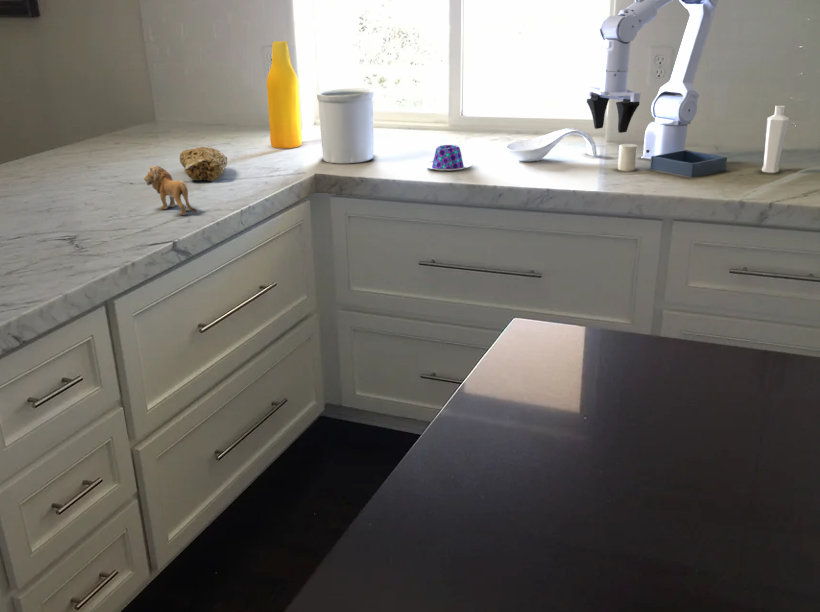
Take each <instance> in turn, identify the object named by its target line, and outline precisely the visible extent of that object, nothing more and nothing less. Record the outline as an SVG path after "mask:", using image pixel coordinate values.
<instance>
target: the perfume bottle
mask: <svg viewBox="0 0 820 612" xmlns="http://www.w3.org/2000/svg"><path fill="white" fill-rule="evenodd" d="M774 106H775V107H774V113H773V115H770V116H768V117H767V119H766V129H765V130H766V132H765V140H764V141H765V144H764V155H763V165H762V167H761V171H762V173H771V174H774V173H775V174H776V173H779V172H780V169H779V168H780V167H779V165H780V162H781V161H780V160H781V156H782V153H783V152H782V151H783V148H784V143H785V140H786V135H787V131H788V126H789V122H790V118H789V117H788V116H787V115H784V114H785V113H784V112H785V108H786V105H774Z"/></svg>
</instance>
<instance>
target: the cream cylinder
mask: <svg viewBox="0 0 820 612" xmlns="http://www.w3.org/2000/svg"><path fill="white" fill-rule="evenodd" d="M637 151H638V145H637V144H635V143H622V144H619V149H618V161H617V170H619V171H625V172H630V171H635V170H636V163H637Z"/></svg>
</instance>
